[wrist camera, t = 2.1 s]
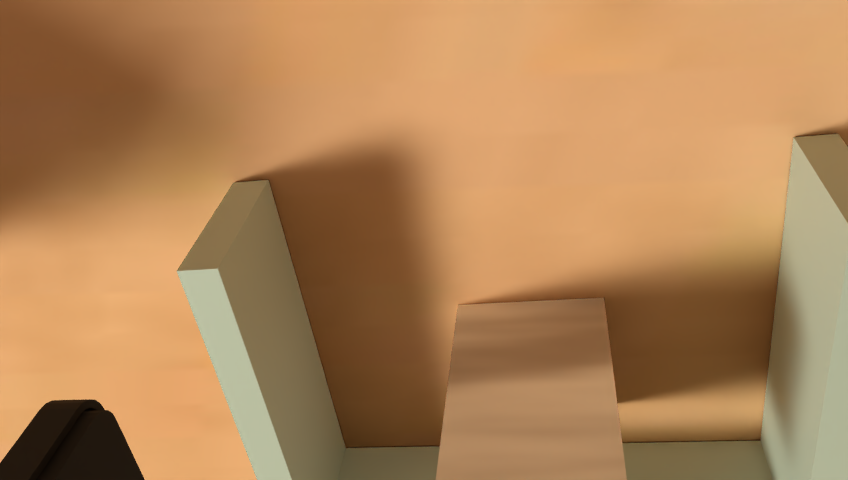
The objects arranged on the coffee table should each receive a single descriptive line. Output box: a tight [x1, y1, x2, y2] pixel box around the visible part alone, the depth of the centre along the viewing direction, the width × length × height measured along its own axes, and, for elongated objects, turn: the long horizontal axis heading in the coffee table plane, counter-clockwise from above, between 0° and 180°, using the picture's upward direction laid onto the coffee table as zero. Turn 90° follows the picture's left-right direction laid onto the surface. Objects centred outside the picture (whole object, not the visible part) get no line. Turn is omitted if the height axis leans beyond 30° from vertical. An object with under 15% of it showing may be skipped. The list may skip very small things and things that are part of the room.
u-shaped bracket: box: [177, 134, 848, 480], centre depth 26 cm, size 14×18×5 cm
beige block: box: [436, 298, 627, 480], centre depth 25 cm, size 5×5×8 cm
